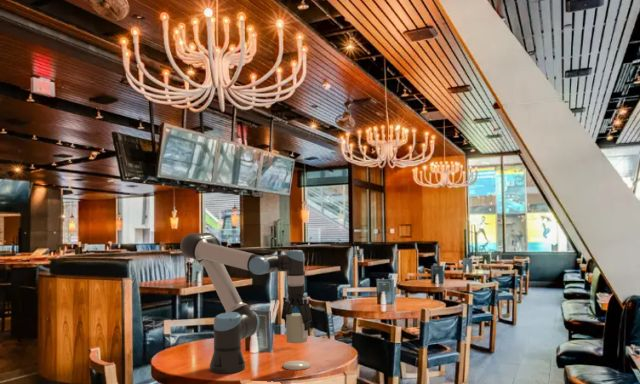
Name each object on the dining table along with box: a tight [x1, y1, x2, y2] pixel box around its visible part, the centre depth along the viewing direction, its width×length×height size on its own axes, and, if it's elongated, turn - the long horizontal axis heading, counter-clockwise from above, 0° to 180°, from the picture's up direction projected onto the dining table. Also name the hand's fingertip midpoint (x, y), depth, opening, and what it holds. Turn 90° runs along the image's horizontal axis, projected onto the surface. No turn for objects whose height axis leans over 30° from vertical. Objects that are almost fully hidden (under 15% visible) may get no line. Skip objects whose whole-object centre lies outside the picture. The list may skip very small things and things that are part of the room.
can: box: [286, 312, 308, 344], centre depth 227 cm, size 9×9×12 cm
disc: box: [282, 360, 311, 371], centre depth 226 cm, size 12×12×1 cm
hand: (296, 336), depth 226 cm, fingers closed on can, 9 cm apart
